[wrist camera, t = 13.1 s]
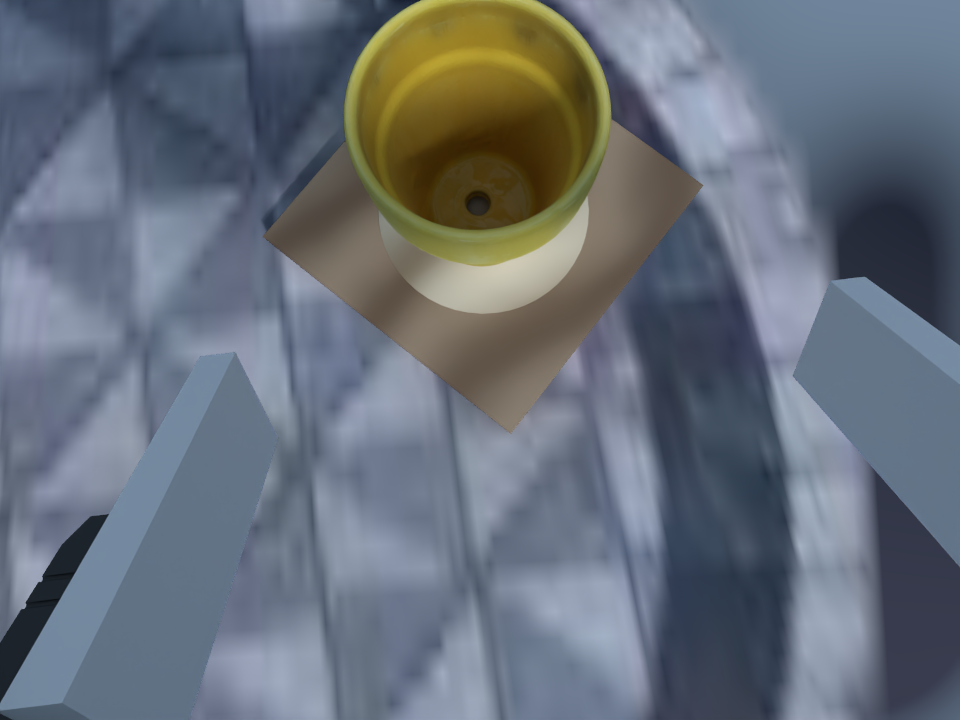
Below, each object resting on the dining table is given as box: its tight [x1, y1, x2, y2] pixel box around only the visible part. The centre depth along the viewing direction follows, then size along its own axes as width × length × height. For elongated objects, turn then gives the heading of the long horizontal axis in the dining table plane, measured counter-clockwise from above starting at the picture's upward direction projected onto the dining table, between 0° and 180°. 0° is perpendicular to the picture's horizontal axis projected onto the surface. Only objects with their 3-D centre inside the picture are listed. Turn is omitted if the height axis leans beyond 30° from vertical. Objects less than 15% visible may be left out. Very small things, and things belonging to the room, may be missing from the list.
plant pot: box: [343, 0, 611, 267], centre depth 24 cm, size 10×10×10 cm
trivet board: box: [263, 119, 703, 433], centre depth 30 cm, size 18×18×2 cm
